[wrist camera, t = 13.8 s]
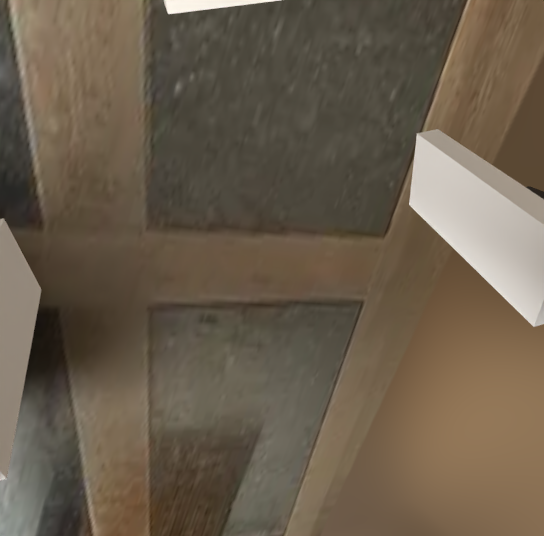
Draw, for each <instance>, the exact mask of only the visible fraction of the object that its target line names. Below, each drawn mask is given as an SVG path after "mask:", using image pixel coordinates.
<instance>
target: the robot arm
mask: <svg viewBox="0 0 544 536" xmlns="http://www.w3.org/2000/svg"><path fill="white" fill-rule="evenodd" d="M409 205H410V206H411V207H412V208H413V209H414V210H415V211H416V212H417V213H418V214H419V215H420V216H421V217H422V218H423V219H424V220H425V221H426V222H427V223H428V224H429V225H430V226H431V227H432V228H433V229H434V230H435V231H436V232H437V233H438V234H439V235H440V236H442V237H443V238H444V239H445V240H446V241H447V242H448V243H449V244H450V245H451V246H452V247H453V248H454V249H455V250H456V251H457V252H458V253H459V254H460V255H461V256H462V257H463V258H464V259H465V260H466V261H467V262H468V263H469V264H470V265H471V266H472V267H473V268H474V269H475V270H477V272H479V274H480V275H481V276H482V277H483V278H484V279H485V280H486V281H488V282H489V283H490V284H491V285H492V286H493V287H494V288H495V289H496V290H497V291H498V292H499V293H500V294H501V295H502V296H503V297H504V298H505V299H506V300H507V301H508V302H509V303H510V304H511V305H512V306H513V307H514V308H515V309H516V310H517V311H518V312H519V313H520V314H521V315H522V316H523V317H524V318H526V320H527V321H528V322H529V323H530V324H532V326H533V327H535V326H538V325H542V324H544V192H543V191H540V190H538V189H535V188H532V187H524V186H523V185H521V184H520V183H518V182H517V181H515V180H514V179H512V178H511V177H509V176H508V175H506V174H504V173H503V172H502V171H500V170H498V169H497V168H496V167H494V166H493V165H491V164H490V163H488V162H487V161H485V160H484V159H482V158H480V157H479V156H477V155H476V154H474V153H473V152H471V151H470V150H468V149H467V148H465V147H464V146H462V145H461V144H459V143H458V142H456V141H455V140H453V139H452V138H450V137H449V136H447V135H446V134H444V133H443V132H441V131H440V130H438V129H437V130H432V131H427V132H422V133H417V138H416V147H415V156H414V165H413V174H412V183H411V192H410V201H409ZM40 295H41V288H40V286H39V284H38V282H37V280H36V278H35V276H34V274H33V273H32V271H31V269H30V267H29V265H28V263H27V261H26V259H25V257H24V255H23V254H22V252H21V250H20V248H19V246H18V244H17V242H16V240H15V238H14V236H13V235H12V233H11V231H10V229H9V227H8V225H7V223H6V221H5V219H4V218H3V219H0V480H4V479H7V474H8V469H9V464H10V458H11V453H12V447H13V442H14V436H15V431H16V426H17V420H18V415H19V409H20V404H21V398H22V393H23V388H24V382H25V377H26V371H27V366H28V360H29V355H30V350H31V344H32V339H33V333H34V328H35V322H36V317H37V312H38V306H39V301H40Z"/></svg>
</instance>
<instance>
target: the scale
mask: <svg viewBox="0 0 544 536" xmlns="http://www.w3.org/2000/svg"><path fill="white" fill-rule="evenodd" d="M271 1H279V0H164V4H165V7H166V10H167V12H168V14H174V13H182V12H190V11H198V10H206V9H214V8H222V7H230V6H239V5H247V4H255V3H263V2H271Z"/></svg>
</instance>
